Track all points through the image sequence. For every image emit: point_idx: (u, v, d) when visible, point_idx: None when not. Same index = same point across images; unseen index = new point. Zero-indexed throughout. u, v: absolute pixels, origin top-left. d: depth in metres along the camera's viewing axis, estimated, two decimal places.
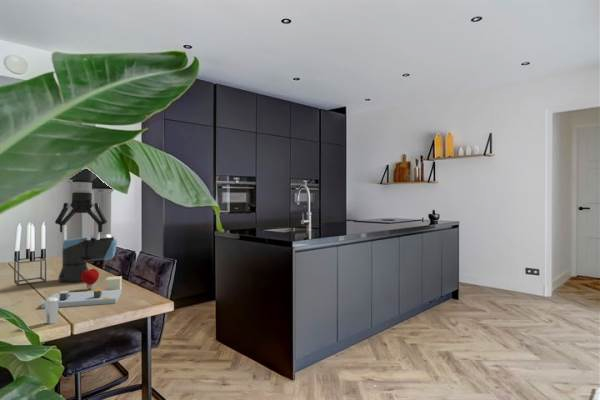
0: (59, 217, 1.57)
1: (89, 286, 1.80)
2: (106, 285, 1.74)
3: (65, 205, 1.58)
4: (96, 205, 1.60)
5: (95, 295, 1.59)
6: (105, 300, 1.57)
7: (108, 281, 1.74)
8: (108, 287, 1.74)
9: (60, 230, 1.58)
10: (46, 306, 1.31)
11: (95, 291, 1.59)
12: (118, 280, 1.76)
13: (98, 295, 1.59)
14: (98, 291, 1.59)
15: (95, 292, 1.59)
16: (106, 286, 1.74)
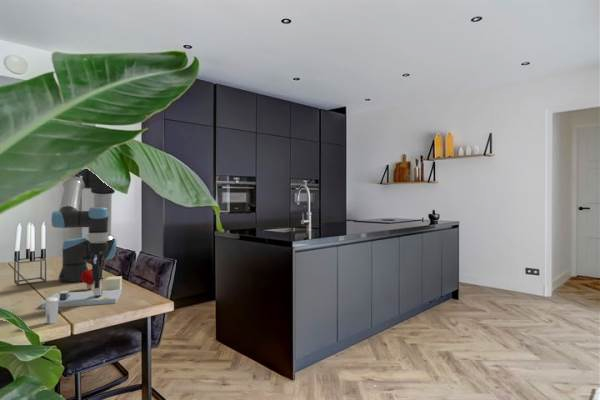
0: None
1: (89, 286, 1.80)
2: (106, 285, 1.74)
3: None
4: None
5: None
6: (105, 300, 1.57)
7: (108, 281, 1.74)
8: (108, 287, 1.74)
9: None
10: (46, 306, 1.31)
11: None
12: (118, 280, 1.76)
13: None
14: None
15: None
16: (106, 286, 1.74)
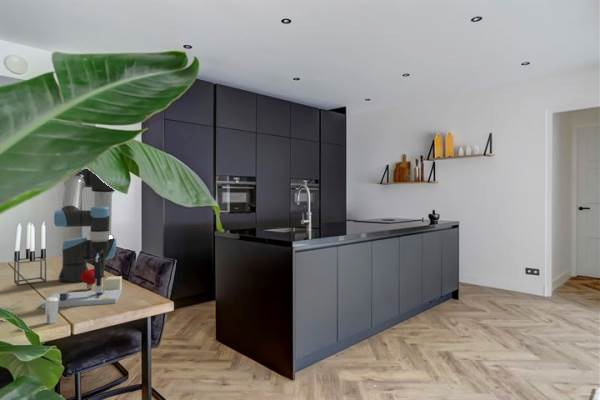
0: None
1: (89, 286, 1.80)
2: (106, 285, 1.74)
3: None
4: None
5: None
6: (105, 300, 1.57)
7: (108, 281, 1.74)
8: (108, 287, 1.74)
9: None
10: (46, 306, 1.31)
11: None
12: (118, 280, 1.76)
13: None
14: None
15: None
16: (106, 286, 1.74)
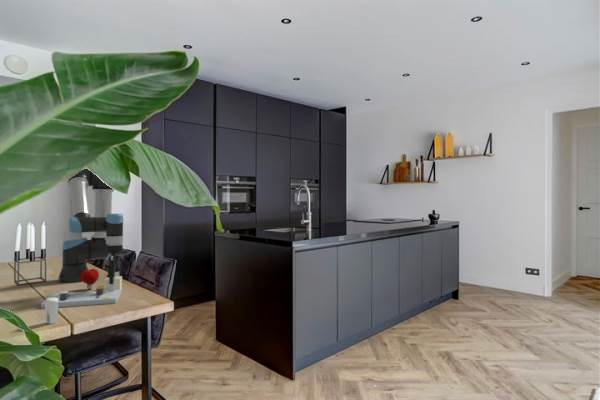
0: None
1: (89, 286, 1.80)
2: (106, 285, 1.74)
3: None
4: (109, 258, 1.72)
5: (97, 292, 1.64)
6: (105, 300, 1.57)
7: None
8: None
9: None
10: (46, 306, 1.31)
11: (97, 289, 1.64)
12: (118, 280, 1.76)
13: (100, 292, 1.64)
14: (100, 288, 1.64)
15: (97, 289, 1.64)
16: (106, 286, 1.74)
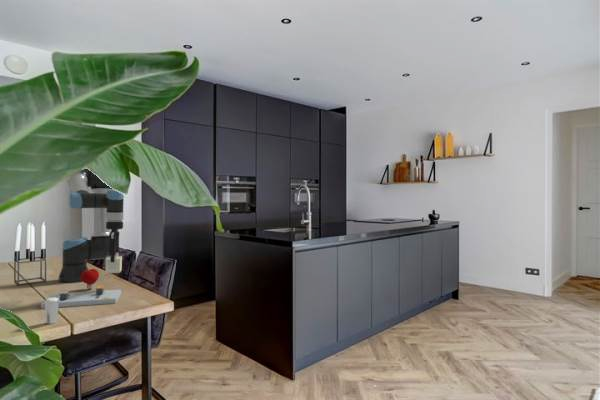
0: None
1: (89, 286, 1.80)
2: (106, 265, 1.74)
3: None
4: None
5: (97, 292, 1.64)
6: (105, 300, 1.57)
7: (108, 261, 1.75)
8: (108, 267, 1.75)
9: None
10: (46, 306, 1.31)
11: (97, 289, 1.64)
12: (118, 260, 1.76)
13: (100, 292, 1.64)
14: (100, 288, 1.64)
15: (97, 289, 1.64)
16: (106, 266, 1.74)
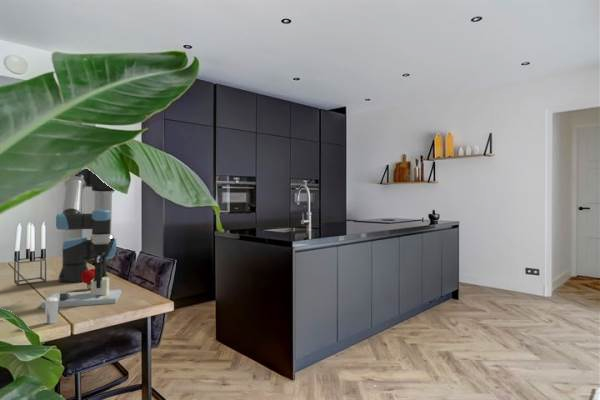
0: None
1: (89, 286, 1.80)
2: (92, 287, 1.62)
3: None
4: None
5: None
6: (105, 300, 1.57)
7: (94, 282, 1.62)
8: (94, 289, 1.62)
9: None
10: (46, 306, 1.31)
11: None
12: (105, 281, 1.64)
13: None
14: None
15: None
16: (92, 288, 1.62)
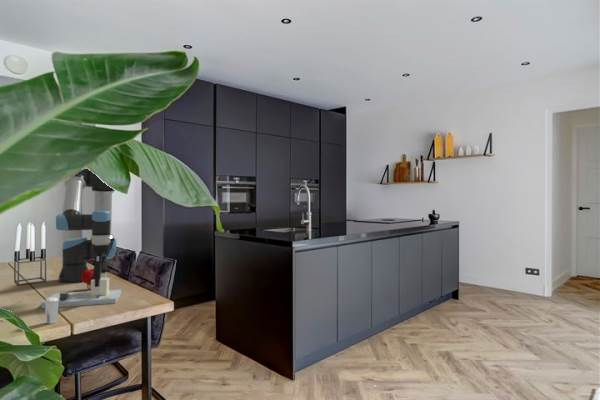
0: None
1: (89, 286, 1.80)
2: (92, 287, 1.62)
3: None
4: None
5: None
6: (105, 300, 1.57)
7: None
8: None
9: None
10: (46, 306, 1.31)
11: None
12: (105, 281, 1.64)
13: None
14: None
15: None
16: (92, 288, 1.62)
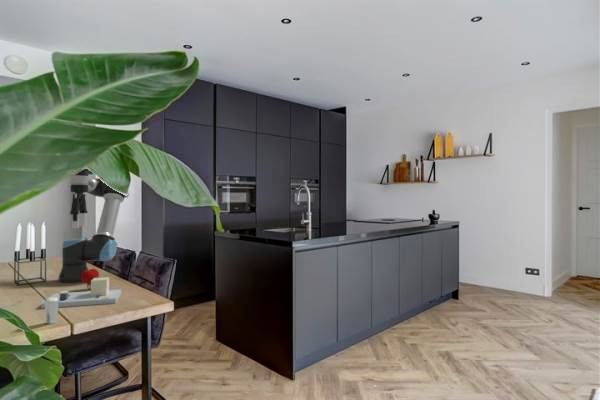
0: None
1: (89, 286, 1.80)
2: (92, 287, 1.62)
3: None
4: None
5: None
6: (105, 300, 1.57)
7: (94, 282, 1.62)
8: (94, 289, 1.62)
9: None
10: (46, 306, 1.31)
11: None
12: (105, 281, 1.64)
13: None
14: None
15: None
16: (92, 288, 1.62)
